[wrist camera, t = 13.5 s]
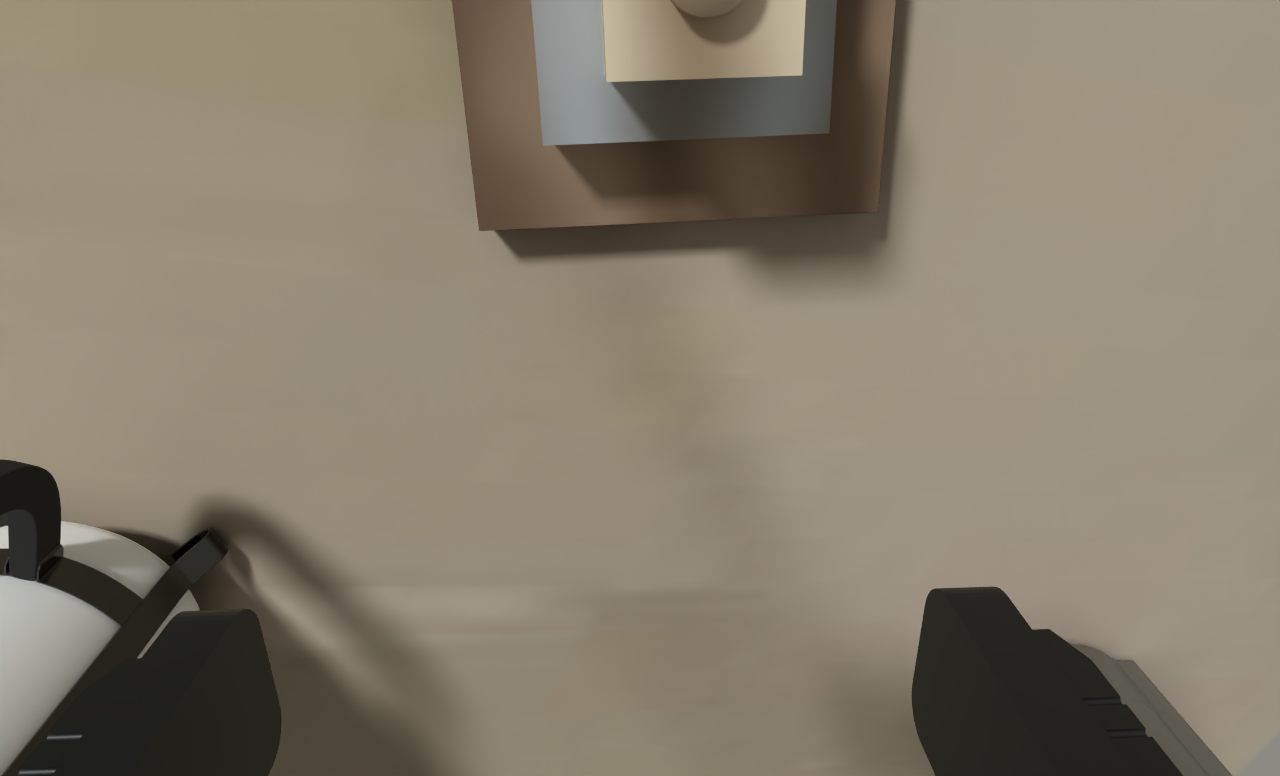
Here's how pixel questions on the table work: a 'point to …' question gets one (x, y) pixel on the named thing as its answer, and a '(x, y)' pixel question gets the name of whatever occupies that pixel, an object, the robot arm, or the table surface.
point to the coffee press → (74, 604)
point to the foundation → (667, 123)
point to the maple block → (702, 39)
